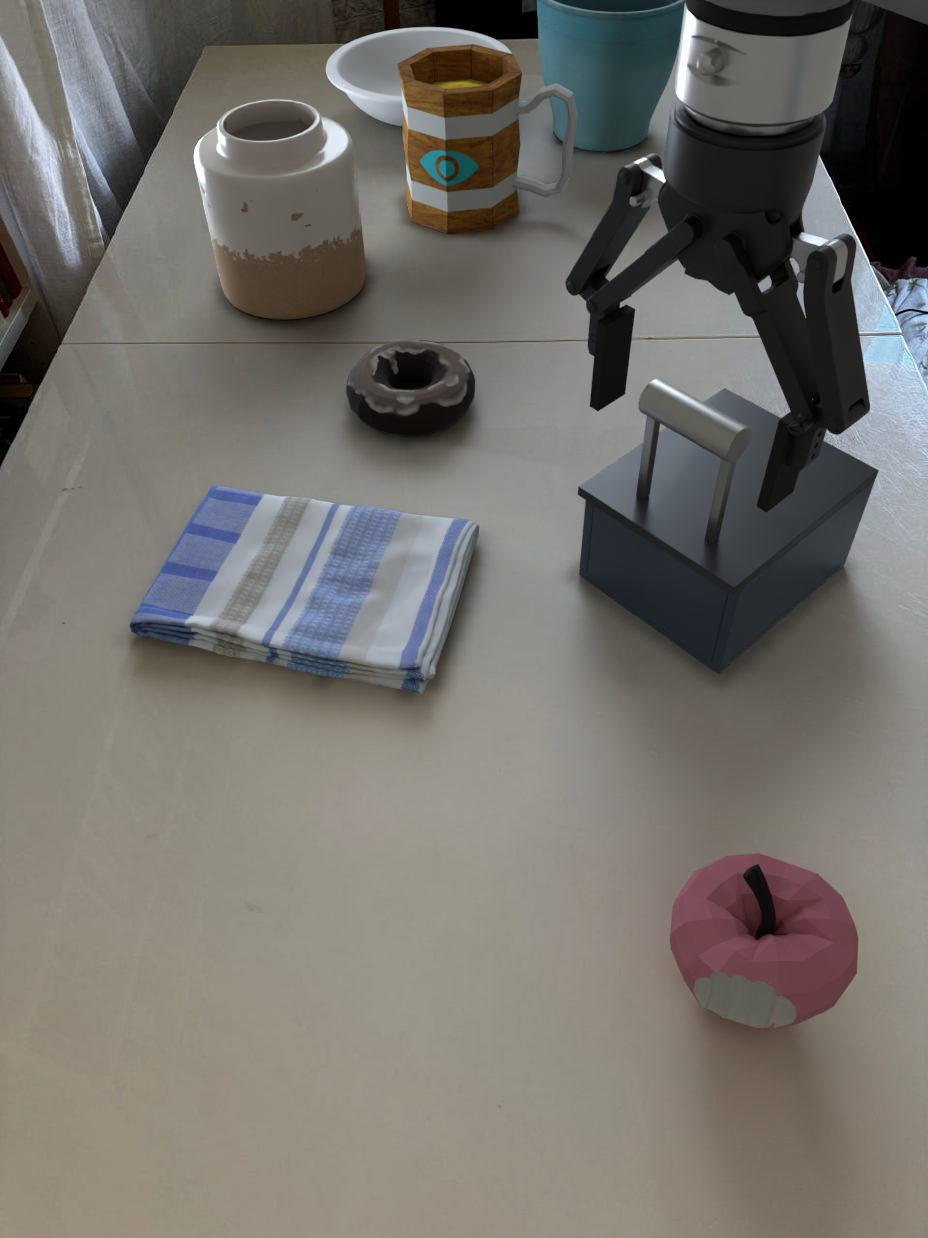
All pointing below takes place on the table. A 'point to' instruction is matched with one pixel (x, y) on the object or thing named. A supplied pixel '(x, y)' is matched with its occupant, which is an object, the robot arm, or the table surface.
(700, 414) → the lid
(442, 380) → the donut
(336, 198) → the vase
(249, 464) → the table surface
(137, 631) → the dish towel
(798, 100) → the robot arm
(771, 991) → the apple
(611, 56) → the flower pot
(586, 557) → the blue storage box
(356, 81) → the soup bowl
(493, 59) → the mug
